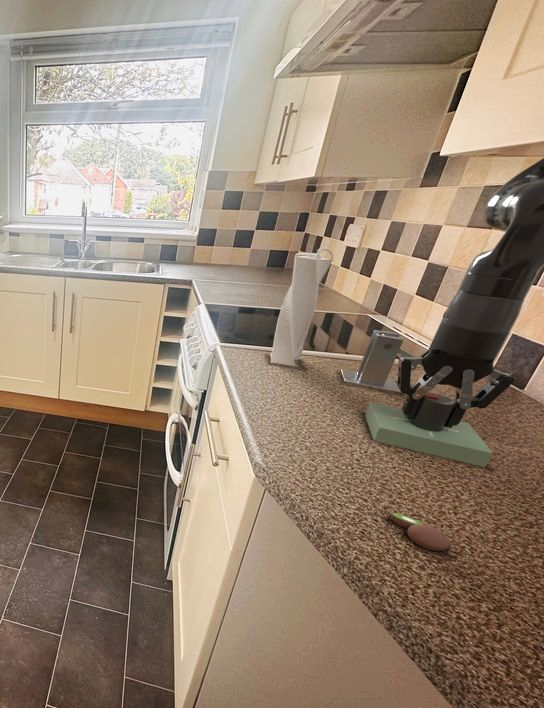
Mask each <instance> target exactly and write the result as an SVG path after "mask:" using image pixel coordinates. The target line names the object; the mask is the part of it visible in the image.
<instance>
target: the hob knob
mask: <svg viewBox="0 0 544 708" xmlns="http://www.w3.org/2000/svg"><path fill="white" fill-rule="evenodd" d="M420 400H421V403H420V405H419V407H418V409H417V411H416V413H415V415H414V417H413V419H412V420H411V419H409V422H410V423H411V424H413V425H415V426H417V427H419V428H422V429H425V430H429V431H442V430H443V428H444V426H445V424H446V422H447V420H448V418H449V416H450V414H451V412H452V411H453V409H454V407H455V405H456V402H455V399H452V398H449V397H448V396H444V395H441V394H438V393H431V392H427V393H426V394H425V395H424V396H423V397H422V398H421V399H420Z"/></svg>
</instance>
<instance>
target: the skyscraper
mask: <svg viewBox="0 0 544 708" xmlns="http://www.w3.org/2000/svg"><path fill="white" fill-rule="evenodd" d="M321 251H326V252H328V253H329V255H330V258H326V257H323V253H320V252H321ZM300 255H301V256H300ZM302 255H303V256H302ZM333 261H334V255H333V251H332V250H331V249H329V248H327V247H320V248H318V249H317V250H316V253H315V252H306V251H305V252H304V251H303V252H302V251H301V252H296V254H294V261H293V269H292V279H291V285H290V287H289V289H288V291H287V292H286V295H285V297H284V299H283V301H282V305H281V308H280V311H279V314H278V318H277V322H276V328H275V332H274V338H273V342H272V343H273V344H272V351H271V353H270V354H269V357H270V363H274V364H281V365H286V366H292V367H296V366H295V361H300V357H301V356H302V354H303V351H304V345H305V342H306V339H307V336H308V334H309V329H310V326H311V324H312V322H313V319H314V316H315V312H316V308H317V304H318V297H319V287H320V284H321V282H322V280H323V279H324V277H325V275H326V274H327V272H328V270H329V268H330V267H331V265H332V262H333Z"/></svg>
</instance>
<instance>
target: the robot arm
mask: <svg viewBox="0 0 544 708" xmlns="http://www.w3.org/2000/svg"><path fill="white" fill-rule="evenodd" d="M483 220H484V221H485V223H486V224H487V226H488V227H490V229H493V230H495V231H499V232H504V234H503V235H502V237H501V238H500V239H499V241H498V242H497V244H496V245H495V246H494V248H492V249H491V250H490V249H489V250H486V251H483V252H480V253H478V254H477V255H476V256H475V257H474V258H473V259H472V261H471V262H470V264H469V266H468V268H467V270H466V272H465V273H464V276H463V278H462V280H461V283H460V284H459V288H458V289H457V291H456V293H455V295H454V296H453V298H452V299H451V301H450V302H449V304H448V305H447V308H446V310H445V311H444V312H443V315H442V319H441V321H440V324H439V325H438V327H437V330H436V331H435V334H434V336H433V338H432V341H431V343H430V345H429V348H428V349H427V350H426V352H424V353H423V354H421V355H420V356H416V357H407V356H405V355H400V356H399V357H398V360H397V361H398V364H397V385H398V388H399V389H400V391H401V393H402V394H405V395H407V396H406V399H405V401H404V403H403V406H402V408H401V409H402V412H403V414H404V415H405V417H406V418H407V419H411V420H412V419H413V417H414V415H415V413H416V411H417V409H418V407H419V405H420V403H421V400H420V399H421V398H422V397H423V396H424V395H425V394H426V393H429V391H432V390H434V388H435V387H437V385H438V386H439V385H440V386H450V387H453V388H454V390H455V396H454V397H455V398H454V401H455V402H456V405H455V407H454V409H453V411H452V412H451V414H450V416H449V418H448V420H447V422H446V424H445V427H448V428H452V427H453V425H455V426H456V425H458V424H459V423H460V421H461V422H462V419H463V417H464V416H465V413H466V412H467V411H468V410H469V409H472V408H474V409H475V408H477V409H481V410H482V409H486V408H487V407H488V406H490V405H491V404H492V403H493V402H494V401H496V399H497V398H498V397H499V396H500V395H501V394H503V393H504V392H505V391H506V390H507V389H508V388H510V386H511V385H513V383H514V382H515V377H513V376H512V375H511V374H510V373H508V372H506V371H500V370H497V369H496V368H495V366H494V361H495V360H496V359H497V357H498V356H499V354H500V351H501V350H502V348H503V347H504V344H505V342H506V340H507V338H508V337H509V334H510V333H511V331H512V330H513V327H514V325H515V323H516V321H517V320H518V318H519V316H520V313H521V311H522V308H523V304H524V302H525V300H526V298H527V296H528V294H529V292H530V290H531V288H532V286H533V284H534V282H535V281H536V278H537V277H538V275H539V273H540V270H541V269H542V268H543V267H544V157H543V158H541V159H539V160H538V161H537V162H535V163H533V164H531V165H530V166H528V167H527V168H525V169H524V170H522V171H521V172H519V173H518V174H516V175H515V176H513V177H512V178H510V179H509V180H507V182H505V183H504V184H503V185H502V186H500V187H499V188H498V189H497V190H496V191H495V192H494V193H493V195H492V196H491V197H490V199H488V201H487V203H486V205H485V207H484V210H483ZM419 364H422V366H423V368H424V370H425V373H423V374H422V375H421V376H420V377H419V378H418V379H417V381H416V382H415V384H414V385H413V386H412V385H411V378H412V377H411V376H412V371H415V370H416V369H417V368H418V366H420V365H419ZM422 366H421V367H422ZM486 377H487V379H486V380H487V383H486V384H485V385H484V386H483V387H481V388H480V390H479V391H478V392H476V393H475V395H473V392H474V391H473V389H474V383H477V382H479V381H481V380H482V379H484V378H486Z"/></svg>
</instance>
